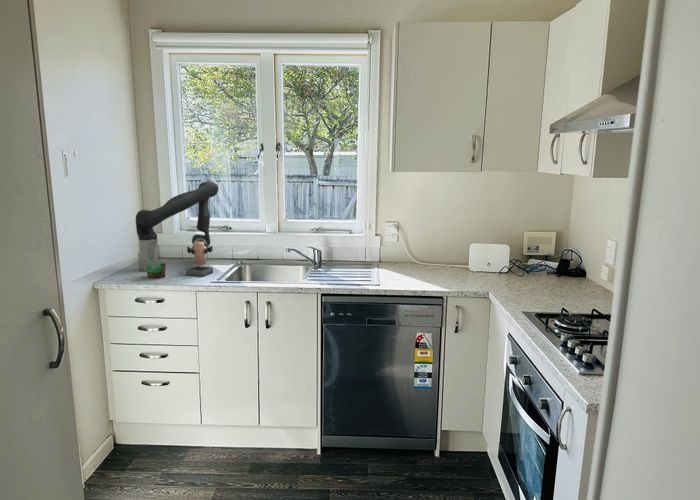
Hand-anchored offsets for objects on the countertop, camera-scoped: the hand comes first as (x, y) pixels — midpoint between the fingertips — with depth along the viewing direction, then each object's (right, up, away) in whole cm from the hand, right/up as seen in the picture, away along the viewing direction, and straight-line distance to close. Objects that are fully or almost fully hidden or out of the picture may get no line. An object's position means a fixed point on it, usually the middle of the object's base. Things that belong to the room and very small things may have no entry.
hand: (199, 252), depth 253 cm
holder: (-1, -12, +5) cm, 13 cm away
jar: (-1, -6, +4) cm, 7 cm away
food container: (-22, -13, -6) cm, 26 cm away
